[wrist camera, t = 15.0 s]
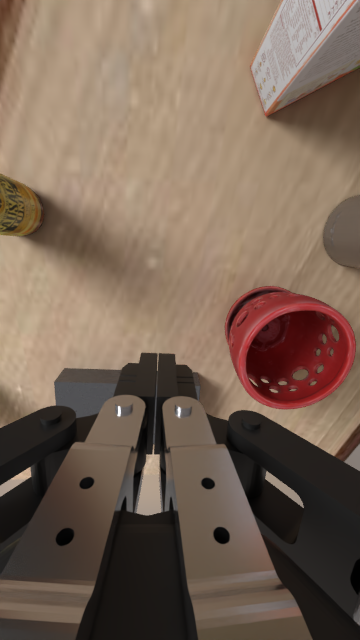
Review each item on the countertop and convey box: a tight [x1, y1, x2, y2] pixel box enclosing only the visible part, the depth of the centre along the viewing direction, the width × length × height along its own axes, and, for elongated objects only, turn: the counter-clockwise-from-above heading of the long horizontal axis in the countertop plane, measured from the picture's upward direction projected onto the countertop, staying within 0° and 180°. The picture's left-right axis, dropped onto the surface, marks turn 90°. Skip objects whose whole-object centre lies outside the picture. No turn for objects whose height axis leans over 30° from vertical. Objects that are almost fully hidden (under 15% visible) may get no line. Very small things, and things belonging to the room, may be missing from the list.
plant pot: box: [225, 286, 356, 409], centre depth 35 cm, size 13×13×12 cm
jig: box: [54, 368, 200, 444], centre depth 41 cm, size 20×10×4 cm, turn 86°
